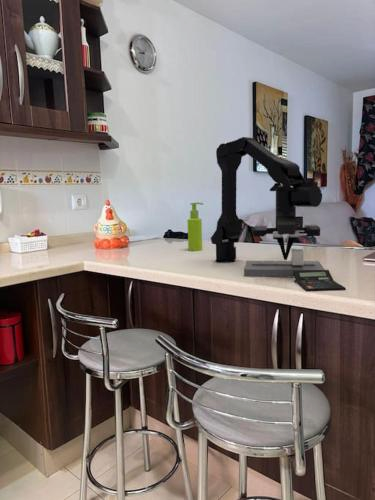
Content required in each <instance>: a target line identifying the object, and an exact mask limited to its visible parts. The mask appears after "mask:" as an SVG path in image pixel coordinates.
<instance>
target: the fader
mask: <svg viewBox="0 0 375 500" xmlns="http://www.w3.org/2000/svg"><path fill="white" fill-rule="evenodd" d="M304 252H305V251H304V249H303V248H301V247H300V248H296V247H295V248H292V247H291V249H290V254H291V260H290V261H291V262H292V265H303V263H304V261H305V260H304V258H305V257H304V254H305V253H304Z"/></svg>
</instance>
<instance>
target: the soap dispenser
mask: <svg viewBox="0 0 375 500" xmlns="http://www.w3.org/2000/svg"><path fill="white" fill-rule="evenodd" d="M197 205H204V203H203V202H190V206H191V210H190V211H189V213H190V214H189V218H187V242H188V246H187V247H188V251H189V252H199V251H203V230H202V229H203V227H202V226H203V224H202V218H199V210H198V209H197Z"/></svg>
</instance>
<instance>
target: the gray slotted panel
mask: <svg viewBox="0 0 375 500" xmlns="http://www.w3.org/2000/svg"><path fill="white" fill-rule="evenodd" d="M307 270H326V269H325V268H324V267H323V265H322V263H321V262H320V261H319V260H304V263H303V265H292V262H291V260H246V262H245V264H244V268H243V276H244V277H275V278H278V277H284V278H285V277H287V278H288V277H289V278H294V275H293V271H307Z"/></svg>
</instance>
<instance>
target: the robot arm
mask: <svg viewBox="0 0 375 500" xmlns="http://www.w3.org/2000/svg"><path fill="white" fill-rule="evenodd" d="M215 151H216V152H215V154H216V164H217V165H218V167H219V169H220V171H221V214H220V216H219V218H218V219H217V222H216V230H215V231H214V232H213V234H212V236H211V237H210V242H211V244H213V245H215V262H216V263H217V262H218V263H219V262H221V263H222V262H223V263H225V262H226V263H228V262H229V263H232V262H235V260H236V259H237V247H236V246H235V243H239V241H240V237H241V235H242V232H243V218H239V216H238V214H237V173H238V169H239V167H240V166H241V163H242V158H243V157H244V156H247V155H248V156H249V157H251V158H252V159H254V160H255V161H256V162H257V163H259V164H260V165H261V166H262V167H264V168H265V169H266V170H267V171H266V172H267V174H268V176H269V177H270V178H271V179H272V180H273V182H274V184H273V186H272V187H270V188H269V191H270V192H275V227H267V225H265V224H264V225H263V224H262V225H254V227H253V229H252V237H265V236H266V235H272V239H273V240H276V242H277V244H278V246H279V247H280V250H281V254H282V258H283V261H288V258H289V254H290V253H291V248H292V246H293V244H294V242H295V241H296V240H299V239H300V236H299V235H300V234H302V235H303V234H305V235H307V236H308V237H321V227H320V226H318V225H317V224H304V217H303V216H297V208H299V207H301V208H307V207H308V208H317V207H318V206H320V205H321V203H322V200H323V193H322V190H321V188H320V186H318V181H307V180H306V179H305V177H304V176H303V174H302V172H301V170H300V166H299V165H298V164H297V163H296V162H293V161H291V160H288V159H285V158H282V157H279V156H277V155H276V154H275V153H273V152H272V151H270V150H269V149H268V148H266V146H264V145H262V144H260V143H259V142H258V141H256V139H255V138H254V137H250V136H249V137H248V136H247V137H246V136H242V137H239V138H238V139H236V140H232V141H228V142H226V143H220V144H219V145H218V147H217V148H216V150H215ZM284 235H287V239H286V247H285V241H284Z"/></svg>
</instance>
